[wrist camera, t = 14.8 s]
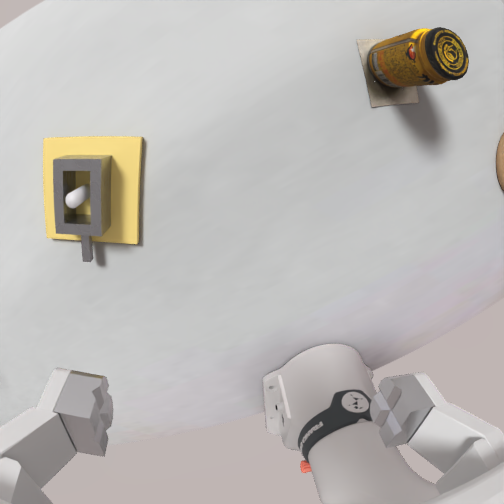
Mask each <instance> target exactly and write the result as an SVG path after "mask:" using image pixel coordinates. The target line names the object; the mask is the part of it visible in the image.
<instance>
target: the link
mask: <svg viewBox="0 0 504 504" xmlns="http://www.w3.org/2000/svg"><path fill="white" fill-rule="evenodd" d="M111 163H112V155H65V156H62V157H59V158H55V159H53V193H54V214H55V228H56V234H71V235H81V244H82V256H83V262H91V261H92V260H93V248H92V236H103V234H104V233H105V232H106V231H107V230H108V229H109V228H110V226H111ZM76 171H90V213H91V215H88V214H76V208H70V207H68V206H67V204H66V196H67V195H68V194H69V193H70V192H72V191H74V190H76Z"/></svg>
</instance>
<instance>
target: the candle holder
mask: <svg viewBox="0 0 504 504" xmlns="http://www.w3.org/2000/svg"><path fill="white" fill-rule="evenodd" d="M496 169H497V176H498V180H499V183H500V185H501V187H502V189H503V190H504V133H503V135H502V137H501V139H500V141H499V145H498V149H497V156H496Z"/></svg>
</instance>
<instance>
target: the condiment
mask: <svg viewBox="0 0 504 504" xmlns="http://www.w3.org/2000/svg"><path fill="white" fill-rule="evenodd" d="M357 44H358V48H359V53H360V56H361V61H362V65H363V70H364V74H365V77H366V82H367V87H368V92H369V96H370V101H371V106H372V107H376V106H385V105H396V104H408V103H419V99H418V93H417V86H422V85H439V84H443V83H445V82H446V81H450V80H458V79H460V78H462V77H463V76H464V75H465V74H466V72H467V69H468V63H469V60H468V54H467V50H466V47H465V46H464V44H463V42H462V40H461V39H460V37H458V36H457V35H456V34H455V33H454V32H452V31H451V30H449V29H446V28H441V27H440V28H435V29H423V28H422V29H417V30H413V31H411V32H408V33H405V34H402V35H399V36H396V37H393V38H390V39H359V40H357ZM374 81H375V82H374ZM402 87H403V89H402Z"/></svg>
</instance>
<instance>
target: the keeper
mask: <svg viewBox="0 0 504 504" xmlns="http://www.w3.org/2000/svg"><path fill="white" fill-rule="evenodd" d="M142 141H143V137H124V136H89V137H55V138H44V143H43V186H44V208H45V222H46V234H47V238H54V239H68V240H81V235H71V234H56V228H55V214H54V193H53V159H55V158H59V157H62V156H65V155H112V163H111V226H110V228H109V229H108V230H107V231H106V232H105V233H104V234H103V236H92V241H97V242H112V243H127V244H138V242H139V198H140V173H141V155H142ZM66 204H67V206H68V207H70V208H76V214H88V215H91V213H90V171H76V190H74V191H72V192H70V193H69V194H68V195H67V196H66Z"/></svg>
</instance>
